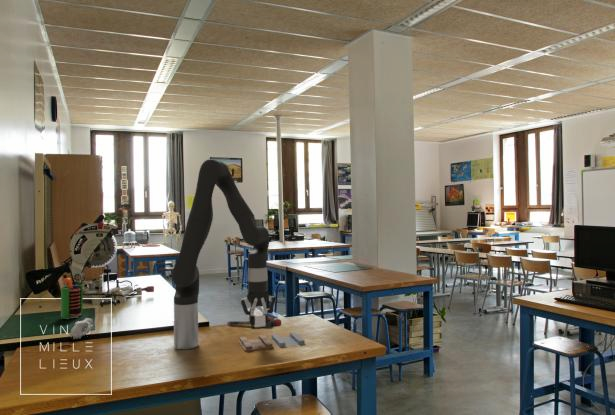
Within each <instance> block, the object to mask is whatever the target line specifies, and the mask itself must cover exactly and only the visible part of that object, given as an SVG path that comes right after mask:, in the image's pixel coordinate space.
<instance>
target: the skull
mask: <svg viewBox="0 0 615 415" xmlns="http://www.w3.org/2000/svg"><path fill="white" fill-rule="evenodd" d="M93 323H94V322H93V318H90V317H85V318H84V319H83V320H80V321H79V320H78V321H75V322H74V326H73V327H71V330H70V333H69V336H70V337H71V338H72V336H73V339H72V340H75V339H76V340H78V339H79V340H81V338H82V337H83V336H84V337H85V335H86V333H89V332H90V331H92V324H93ZM90 333H91V332H90Z"/></svg>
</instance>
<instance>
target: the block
mask: <svg viewBox="0 0 615 415" xmlns="http://www.w3.org/2000/svg"><path fill="white" fill-rule="evenodd" d="M247 309H248V311H249V310H250V307H249V308H248V307H247ZM253 316H254V327H253V328H257V327H263V326H266V325H265V315H264V314H263V311H261V310H260V309H259V308H258V307H255V310H254V314H253ZM246 319H247V321H249V315H246Z"/></svg>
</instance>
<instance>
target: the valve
mask: <svg viewBox="0 0 615 415" xmlns="http://www.w3.org/2000/svg"><path fill="white" fill-rule="evenodd" d="M227 325H230V326H231V325H238V326H239V325H242V326H243V325H246V326H247V325H250V327H251V328H255V327H254V326H252V325H251V324H250V322H249V320H246V321H245V320H244V321H241V320H239V321H238V320H237V321H235V320H234V321H232V320H230V321H227ZM265 325H266V326H263V327H256V328H258V329H259V330H262V329H270V328H275V327H276V328H277V327H278V328H279V327H281V325H282V320H281V319H280V318H274V317H268V316H267V323H266V324H265Z"/></svg>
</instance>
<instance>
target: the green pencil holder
mask: <svg viewBox="0 0 615 415" xmlns="http://www.w3.org/2000/svg"><path fill="white" fill-rule="evenodd" d="M63 283H67V285H64V286H61V287H60V318H61V317H63V318H69V317H75V316H80V315H81V314H82V315H83V308H84V307H83V304H84V303H83V298H84V297H83V296H84V295H83V291H84V290H83V288H84V287H83V285H82V284H73V280H72V278H71V277H65V278H63ZM69 314H75V315H69Z"/></svg>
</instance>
